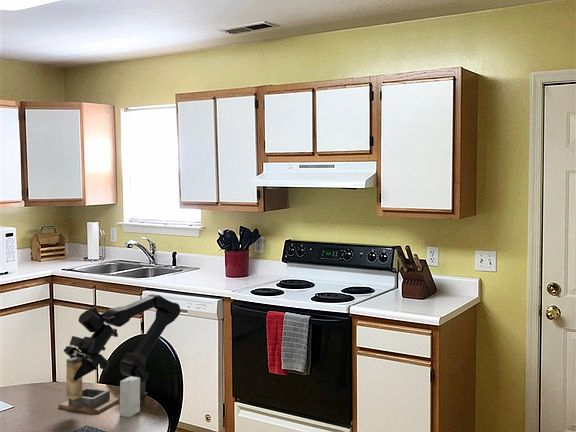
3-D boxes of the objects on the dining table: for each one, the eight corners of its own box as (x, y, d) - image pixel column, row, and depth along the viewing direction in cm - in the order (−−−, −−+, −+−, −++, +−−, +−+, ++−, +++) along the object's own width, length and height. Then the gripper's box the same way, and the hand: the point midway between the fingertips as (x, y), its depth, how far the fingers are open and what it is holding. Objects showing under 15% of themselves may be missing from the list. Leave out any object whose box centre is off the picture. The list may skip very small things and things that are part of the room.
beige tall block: (75, 394, 222) (75, 357, 221) (82, 397, 219) (82, 359, 219) (66, 397, 219) (66, 359, 218) (72, 399, 217) (72, 361, 216)
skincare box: (129, 410, 225) (129, 375, 224) (140, 412, 223) (140, 377, 222) (118, 416, 219) (118, 380, 218) (130, 418, 217) (130, 382, 217)
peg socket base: (119, 401, 233) (119, 390, 233) (98, 413, 221) (98, 401, 220) (81, 396, 238) (81, 385, 238) (58, 408, 226) (58, 396, 225)
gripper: (68, 322, 227) (39, 360, 219) (101, 330, 215) (72, 371, 207) (87, 340, 233) (60, 378, 225) (120, 349, 222) (93, 389, 214)
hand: (70, 378), depth 218 cm, fingers closed on beige tall block, 4 cm apart
